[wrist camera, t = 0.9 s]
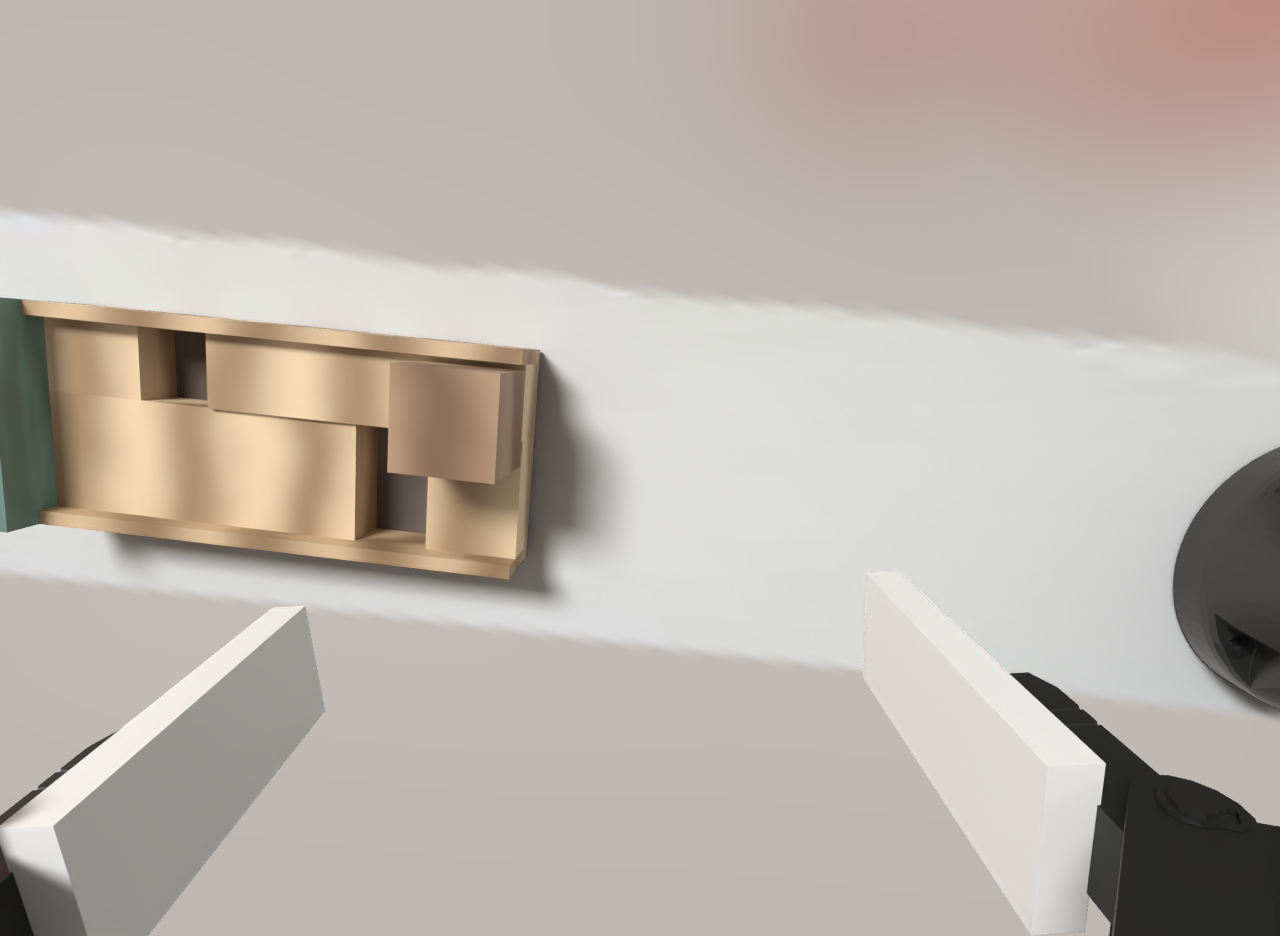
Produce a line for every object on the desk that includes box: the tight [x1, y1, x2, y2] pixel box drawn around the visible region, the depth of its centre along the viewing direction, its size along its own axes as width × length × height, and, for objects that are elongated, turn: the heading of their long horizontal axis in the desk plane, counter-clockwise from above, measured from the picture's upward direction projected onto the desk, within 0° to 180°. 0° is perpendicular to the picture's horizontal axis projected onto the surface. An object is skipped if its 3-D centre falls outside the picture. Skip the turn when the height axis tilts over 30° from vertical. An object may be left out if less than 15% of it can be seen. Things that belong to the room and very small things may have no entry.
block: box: [387, 361, 526, 484], centre depth 31 cm, size 5×5×4 cm
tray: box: [0, 298, 540, 579], centre depth 34 cm, size 27×12×6 cm, turn 84°
